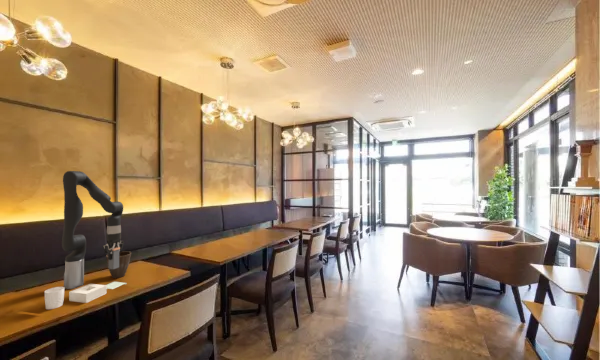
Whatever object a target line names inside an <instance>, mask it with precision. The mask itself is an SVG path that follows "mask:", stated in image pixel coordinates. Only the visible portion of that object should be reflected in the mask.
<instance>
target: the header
mask: <svg viewBox="0 0 600 360" xmlns="http://www.w3.org/2000/svg"><path fill="white" fill-rule="evenodd" d="M107 291H108V289H107V284H96V283H88V284H86V285H83V286H80V287H77V288H74V289H72V290H71V291H69V293H68V294H69V295H68V299H69V300H68V301H69V302H75V303H83V304H88V303H90V302H92V301H94V300H96V299H98V298H101V297H102V296H104V295H106V294H107Z"/></svg>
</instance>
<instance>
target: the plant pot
mask: <svg viewBox="0 0 600 360" xmlns="http://www.w3.org/2000/svg"><path fill="white" fill-rule="evenodd" d="M131 256H132V252H131V251H125V250H124V251H119V267H118V268H116V269H108V271H109V273H110V276H111V278H112V279H119V278H123V277H125V275H126V273H127V271H128V268H129V265H130V262H131ZM105 258H106V264H107V267H108V266H109V259H108V254H105Z"/></svg>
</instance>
